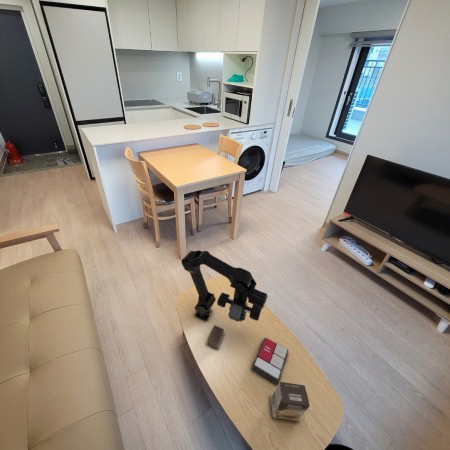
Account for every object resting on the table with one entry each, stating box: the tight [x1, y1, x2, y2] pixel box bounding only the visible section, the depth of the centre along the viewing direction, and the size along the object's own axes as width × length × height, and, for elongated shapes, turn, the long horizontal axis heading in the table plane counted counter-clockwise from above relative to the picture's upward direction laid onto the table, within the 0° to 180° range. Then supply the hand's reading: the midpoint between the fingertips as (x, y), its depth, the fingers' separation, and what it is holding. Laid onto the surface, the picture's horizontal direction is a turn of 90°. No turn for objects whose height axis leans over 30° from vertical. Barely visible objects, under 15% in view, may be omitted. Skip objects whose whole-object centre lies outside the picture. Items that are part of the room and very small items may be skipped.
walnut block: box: [207, 324, 225, 350], centre depth 109 cm, size 5×8×4 cm, turn 155°
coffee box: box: [270, 381, 310, 422], centre depth 84 cm, size 9×6×16 cm
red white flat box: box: [251, 337, 289, 385], centre depth 101 cm, size 11×4×15 cm
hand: (237, 316), depth 107 cm, fingers closed
